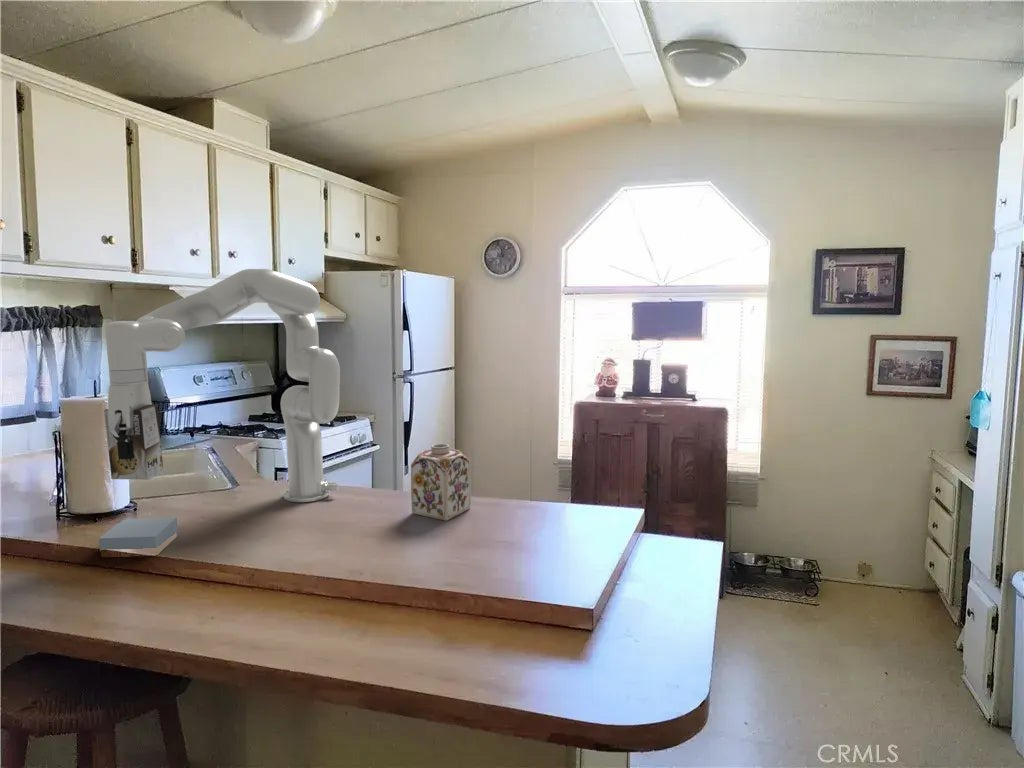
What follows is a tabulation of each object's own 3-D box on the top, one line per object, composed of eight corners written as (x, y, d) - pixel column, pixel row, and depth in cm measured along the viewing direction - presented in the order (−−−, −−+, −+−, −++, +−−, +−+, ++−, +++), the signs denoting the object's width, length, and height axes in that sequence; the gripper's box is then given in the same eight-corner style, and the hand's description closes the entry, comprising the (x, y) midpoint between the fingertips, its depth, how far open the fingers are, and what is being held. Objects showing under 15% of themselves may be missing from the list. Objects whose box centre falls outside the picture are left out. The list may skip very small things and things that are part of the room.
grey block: (178, 537, 166) (176, 517, 165) (157, 557, 154) (155, 536, 153) (126, 539, 165) (124, 519, 164) (101, 559, 153) (98, 538, 152)
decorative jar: (446, 522, 174) (445, 453, 172) (410, 514, 180) (408, 447, 177) (472, 508, 185) (471, 443, 182) (437, 501, 190) (435, 438, 188)
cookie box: (165, 472, 160) (159, 404, 157) (147, 480, 153) (141, 409, 151) (128, 471, 161) (121, 403, 158) (109, 479, 154) (102, 408, 152)
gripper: (134, 371, 162) (141, 445, 165) (87, 382, 145) (95, 464, 148) (165, 371, 162) (171, 445, 165) (122, 382, 145) (130, 465, 147)
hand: (135, 453), depth 156 cm, fingers closed on cookie box, 6 cm apart
